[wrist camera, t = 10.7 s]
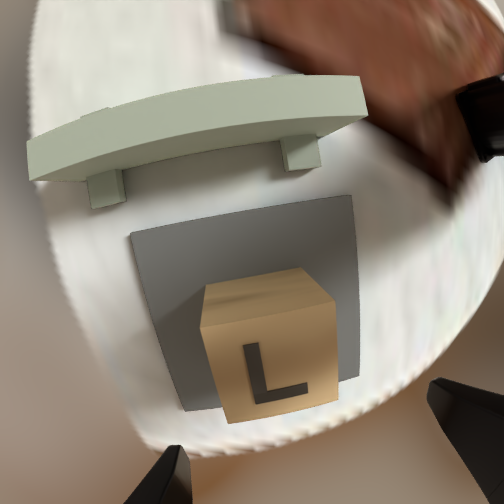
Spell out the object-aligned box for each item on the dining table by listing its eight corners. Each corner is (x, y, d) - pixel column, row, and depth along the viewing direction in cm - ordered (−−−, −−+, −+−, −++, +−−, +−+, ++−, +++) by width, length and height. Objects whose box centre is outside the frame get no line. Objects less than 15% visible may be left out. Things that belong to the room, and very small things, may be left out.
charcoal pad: (356, 372, 21) (359, 375, 21) (185, 407, 20) (184, 411, 20) (348, 195, 18) (351, 195, 18) (132, 232, 17) (130, 233, 17)
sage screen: (329, 166, 18) (375, 157, 12) (86, 211, 17) (35, 221, 11) (313, 80, 16) (348, 41, 11) (75, 125, 15) (26, 105, 10)
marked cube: (309, 348, 20) (338, 402, 14) (225, 365, 19) (228, 426, 13) (300, 267, 18) (336, 301, 12) (206, 284, 18) (199, 328, 12)
